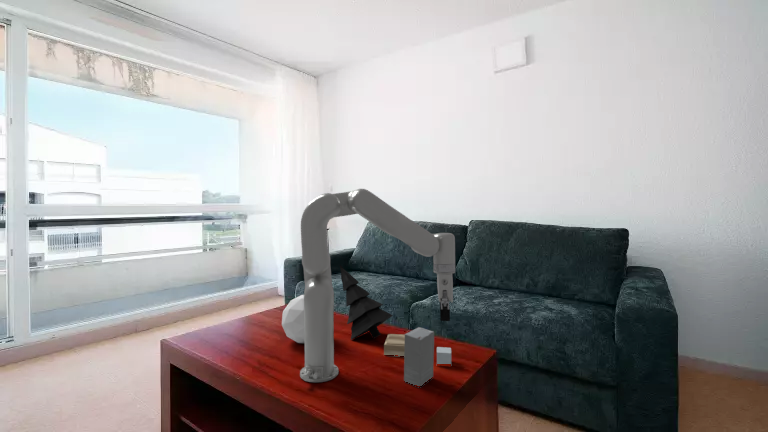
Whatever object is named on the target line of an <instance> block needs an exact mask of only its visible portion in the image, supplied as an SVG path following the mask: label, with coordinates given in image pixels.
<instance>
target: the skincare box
mask: <svg viewBox="0 0 768 432" xmlns="http://www.w3.org/2000/svg"><path fill="white" fill-rule="evenodd" d="M404 335H405V350H404V357H403V358H404V360H403V361H404V363H403V382H404V381H405V382H404V383H406V382H408V383H407V384H409V383H410V384H409V385H411V384H413V385H412V386H414V385H417V386H422V385H423V384H424V383H425V382H427V381H428V380H429V379H431V378H432V377H433V378H434V363H435V361H434V359H435V358H434V357H435V331H434V330H429V329H426V328H424V327H419V326H418V327H416V328H415V329H412V330H410V331H408V332H406V333H404ZM433 378H432V379H433ZM432 379H431V380H432ZM428 382H429V381H428ZM428 382H427V383H428ZM424 385H425V384H424ZM424 385H423V386H424ZM423 386H422V387H423Z"/></svg>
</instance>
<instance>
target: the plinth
mask: <svg viewBox="0 0 768 432" xmlns="http://www.w3.org/2000/svg"><path fill="white" fill-rule="evenodd" d="M404 350H405V334H396V333H388V334H387V337H386V339H385V342H384V344H383V356H384V355H394V356H393V357H396V356H395V355H398V356H397V357H400V356H404Z"/></svg>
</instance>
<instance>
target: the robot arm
mask: <svg viewBox="0 0 768 432" xmlns="http://www.w3.org/2000/svg"><path fill="white" fill-rule="evenodd" d="M353 215H359V216H360V217H362V218H363V219H365V220H366V221H368V222H369V223H371V224H372V225H374V226H375V227H376V228H377V229H379V230H381V231H382V232H384V233H385V234H387V235H389V236H392V237H393V238H396V239H398V240H400V241H401V242H403V243H404V244H405V245H407V246H408V247H410V248H411V250H412V251H413V252H414V253H416V254H419V255H421V256H423V257H428V258H429V257H430V258H431V257H433V260H432V261H433V273H434V274H436V278H437V279H436V282H437V283H436V285H437V287H436V288H437V296H438V302H439V314H440V315H439V316H440V321H441V322H450V321H451V311H450V310H451V309H450V302H451V303H453V302H454V292H453V291H454V287H453V286H454V282H453V274H455V273H456V238H455V235H454V234H453V233H450V232H438V233H431V232H430V231H428V230H427V229H426V228H425V227H422V226H421V225H419V224H418V223H417V222H415V221H413V220H412V219H410V218H409V217H408V216H406V215H404V213H402V212H400V211H398V210H397V209H396V208H394V207H392V206H391V205H390V204H389V203H387V202H386V201H384V200H382V199H381V198H380V197H379V196H377V195H376V194H374V193H373V192H371V191H369V190H368V189H366V188H358V189H355V190H352V191H351V190H350V191H344V192H337V193H330V192H326V193H322V194H320V195H319V196H317V197H314V199H313V200H311V201H310V202H309V203H308V204H307V206H306V207H305V208H304V210H303V212H302V215H301V219H300V238H301V239H300V240H301V241H300V243H301V255H302V256H301V265H302V268H303V279H304V291H303V295H304V329H305V343H304V367H302V368H301V369H300V370H299V377H300V379H302V380H303V381H305V382H309V383H323V382H328V381H331V380H333V379H335V378H337V376H338V375H339V367H338V366H337V365H336V364H335V349H334V348H335V341H334V340H335V339H334V338H335V337H334V336H335V335H334V334H335V333H334V330H335V329H334V327H335V326H334V323H335V322H334V317H335V316H334V315H335V314H334V311H335V310H334V309H335V305H334V304H335V291H334V287H333V281H332V279H333V278H332V269H331V255H330V251H329V242H328V224H329V222H330V220H332V219H334V218H337V217H338V218H340V217H347V216H353Z"/></svg>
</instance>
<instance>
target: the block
mask: <svg viewBox="0 0 768 432" xmlns="http://www.w3.org/2000/svg"><path fill="white" fill-rule="evenodd" d="M437 364H451V365H452V348H451V347H445V346H444V347H443V346H437V347H436V365H437Z"/></svg>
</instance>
